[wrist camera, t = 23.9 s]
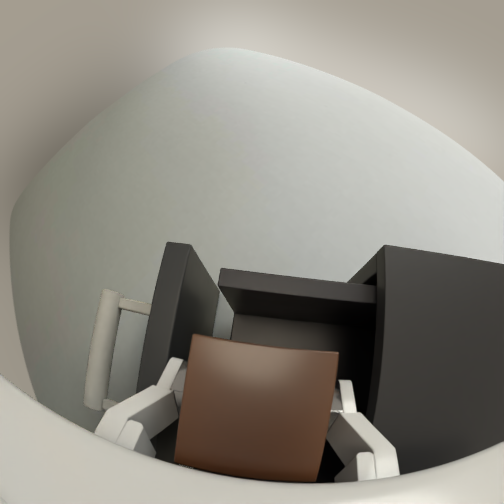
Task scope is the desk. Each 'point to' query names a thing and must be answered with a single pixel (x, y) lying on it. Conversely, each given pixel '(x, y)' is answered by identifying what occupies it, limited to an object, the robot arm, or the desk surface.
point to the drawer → (238, 330)
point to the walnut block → (255, 409)
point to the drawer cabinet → (436, 355)
